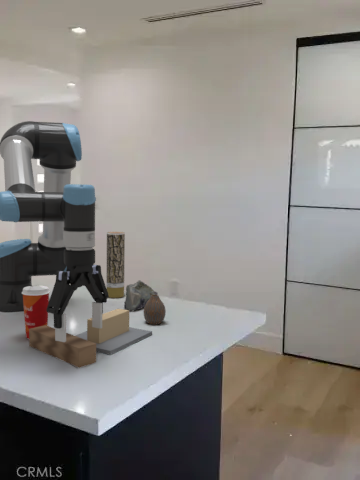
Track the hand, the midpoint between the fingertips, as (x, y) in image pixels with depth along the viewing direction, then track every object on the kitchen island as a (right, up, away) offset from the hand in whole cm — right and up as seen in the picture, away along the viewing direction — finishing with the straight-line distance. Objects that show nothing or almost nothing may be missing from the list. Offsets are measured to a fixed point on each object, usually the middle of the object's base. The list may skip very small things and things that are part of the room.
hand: (79, 334), depth 120 cm
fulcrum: (+5, -5, +16) cm, 18 cm away
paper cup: (-16, -4, +17) cm, 24 cm away
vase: (+17, -3, +34) cm, 38 cm away
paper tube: (0, +1, +69) cm, 69 cm away
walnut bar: (-6, -6, +4) cm, 9 cm away
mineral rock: (+11, -1, +52) cm, 54 cm away
